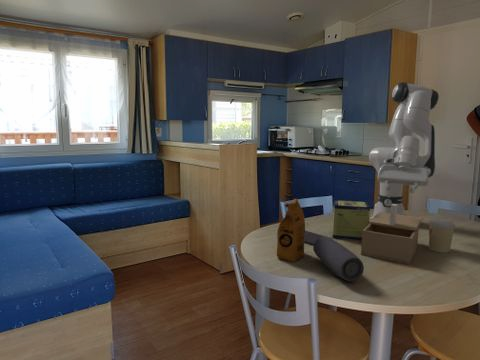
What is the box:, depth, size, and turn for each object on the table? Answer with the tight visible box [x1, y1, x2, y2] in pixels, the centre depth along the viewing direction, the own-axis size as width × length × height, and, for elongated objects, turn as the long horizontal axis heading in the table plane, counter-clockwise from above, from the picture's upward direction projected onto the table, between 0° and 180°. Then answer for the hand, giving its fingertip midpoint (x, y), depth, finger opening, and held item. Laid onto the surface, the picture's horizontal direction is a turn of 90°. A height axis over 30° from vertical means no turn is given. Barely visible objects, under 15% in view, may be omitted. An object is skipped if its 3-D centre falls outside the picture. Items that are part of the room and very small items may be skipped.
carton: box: [360, 224, 420, 265], centre depth 156 cm, size 20×18×10 cm
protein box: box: [331, 200, 371, 241], centre depth 176 cm, size 10×16×16 cm
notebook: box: [304, 230, 333, 247], centre depth 174 cm, size 13×2×21 cm
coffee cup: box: [428, 218, 456, 254], centre depth 160 cm, size 9×9×12 cm
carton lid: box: [369, 204, 423, 231], centre depth 163 cm, size 20×18×9 cm
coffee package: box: [276, 198, 306, 262], centre depth 149 cm, size 10×12×22 cm
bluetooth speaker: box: [312, 235, 365, 282], centre depth 136 cm, size 23×9×10 cm, turn 12°
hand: (399, 191), depth 162 cm, fingers open, 8 cm apart
